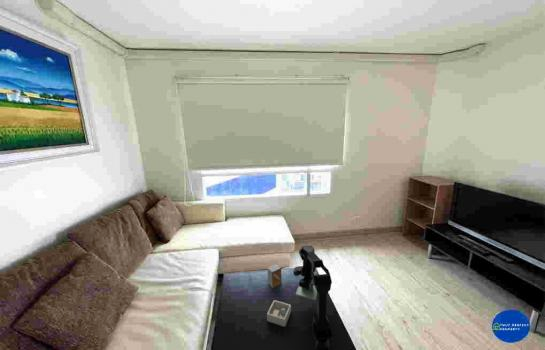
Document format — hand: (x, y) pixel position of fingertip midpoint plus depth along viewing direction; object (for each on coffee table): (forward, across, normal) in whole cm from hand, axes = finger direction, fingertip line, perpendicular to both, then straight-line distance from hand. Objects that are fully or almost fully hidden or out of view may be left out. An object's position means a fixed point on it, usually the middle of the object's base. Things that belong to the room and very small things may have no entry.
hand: (307, 287), depth 132 cm
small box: (+13, -11, -27) cm, 32 cm away
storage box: (+13, +14, -14) cm, 23 cm away
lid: (+3, 0, 0) cm, 3 cm away
